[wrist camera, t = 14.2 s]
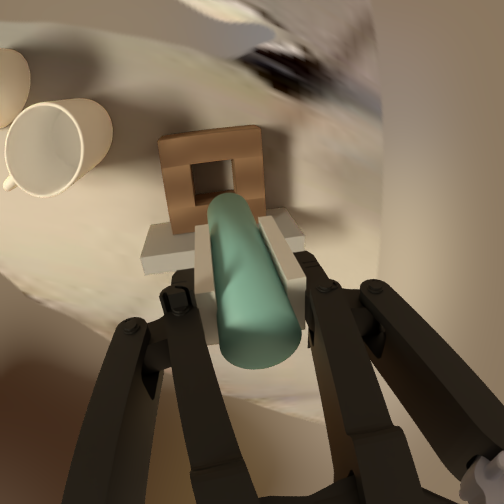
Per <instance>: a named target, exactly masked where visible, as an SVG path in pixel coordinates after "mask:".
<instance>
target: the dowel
mask: <svg viewBox="0 0 504 504" xmlns="http://www.w3.org/2000/svg"><path fill="white" fill-rule="evenodd" d="M207 217H208V224H209V231H210V238H211V249H212V260H213V270H214V280H215V290H216V299H217V308H218V309H217V315H216V317H217V327H218V336H219V345H220V350H221V353H222V355H223V356H224V358H225V359H226V360H227V361H228V362H230V363H231V364H233V365H235V366H237V367H240V368H244V369H264V368H269V367H272V366H275V365H277V364H279V363H281V362H283V361H284V360H286V359H287V358H289V357H290V356H291V355H292V354H293V353H294V352H295V350H296V349H297V347H298V346H299V344H300V341H301V336H302V332H301V327H300V325H299V322H298V320H297V318H296V315H295V313H294V310H293V308H292V306H291V303H290V301H289V299H288V297H287V294H286V292H285V290H284V287H283V285H282V283H281V280H280V278H279V276H278V273H277V271H276V268H275V266H274V264H273V261H272V259H271V257H270V254H269V252H268V250H267V247H266V245H265V243H264V240H263V238H262V236H261V233H260V231H259V228H258V226H257V224H256V221H255V219H254V217H253V215H252V212H251V210H250V208H249V205H248V203H247V202H246V200H245V199H244V198H243V197H242V196H240V195H238V194H235V193H223V194H220V195H218V196H217V197H215V198H214V199H213V200H212V201H211V203H210V204H209V207H208V210H207Z"/></svg>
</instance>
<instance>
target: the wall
mask: <svg viewBox="0 0 504 504" xmlns="http://www.w3.org/2000/svg"><path fill="white" fill-rule="evenodd" d="M271 215H272V217H273V219H274V221H275V222H276V224H277V226H278V228H279V229H280V231H281V233H282V235H283V236H284V238H285V240H286V242H287V243H288V245H289V247H290V249H291V251H292V252H300V251H305V235H304V234H303V232H302V231H301V229H300V228H299V227H298V225H297V224H296V222H295V221H294V219H293V218H292V217H291V215H290V214H289V212H288V211H287V210H286V208H285V207H284V208H275V209H266V216H271ZM257 226H258V228H259V224H257ZM140 259H141V263H142V267H143V270H144V274H145V275H152V274H160V273H167V272H175V271H177V270H182V269H189V268H194V260H195V232H190V233H183V234H176V235H173V233H172V228H171V223H170V222H167V223H161V224H154V225H150V228H149V231H148V234H147V237H146V241H145V244H144V247H143V250H142V253H141V257H140Z"/></svg>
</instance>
